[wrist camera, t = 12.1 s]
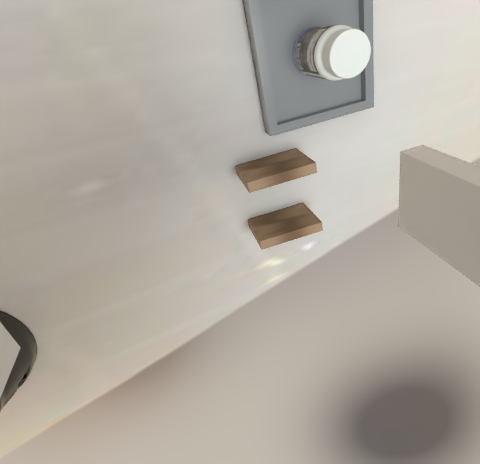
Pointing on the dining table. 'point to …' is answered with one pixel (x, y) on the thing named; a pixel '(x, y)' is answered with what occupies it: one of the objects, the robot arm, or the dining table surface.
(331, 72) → the pill bottle
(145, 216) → the dining table surface
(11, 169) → the dining table surface
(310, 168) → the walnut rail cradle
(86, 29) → the dining table surface
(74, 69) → the dining table surface
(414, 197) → the robot arm
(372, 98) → the slate tray
